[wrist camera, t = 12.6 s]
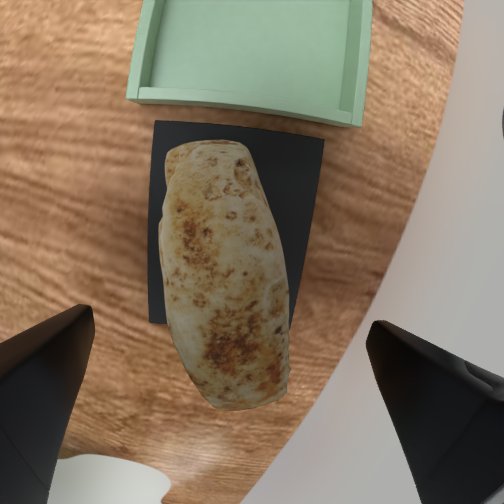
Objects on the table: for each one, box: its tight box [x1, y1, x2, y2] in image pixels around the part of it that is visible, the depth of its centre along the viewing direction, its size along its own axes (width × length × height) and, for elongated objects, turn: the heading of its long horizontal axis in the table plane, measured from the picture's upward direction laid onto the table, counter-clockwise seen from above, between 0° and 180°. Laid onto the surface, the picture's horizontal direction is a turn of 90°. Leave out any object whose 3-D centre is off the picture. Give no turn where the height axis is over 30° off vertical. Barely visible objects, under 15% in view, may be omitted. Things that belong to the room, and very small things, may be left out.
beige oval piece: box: [159, 140, 291, 411], centre depth 12 cm, size 10×4×10 cm, turn 9°
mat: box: [148, 120, 325, 330], centre depth 17 cm, size 9×12×1 cm
